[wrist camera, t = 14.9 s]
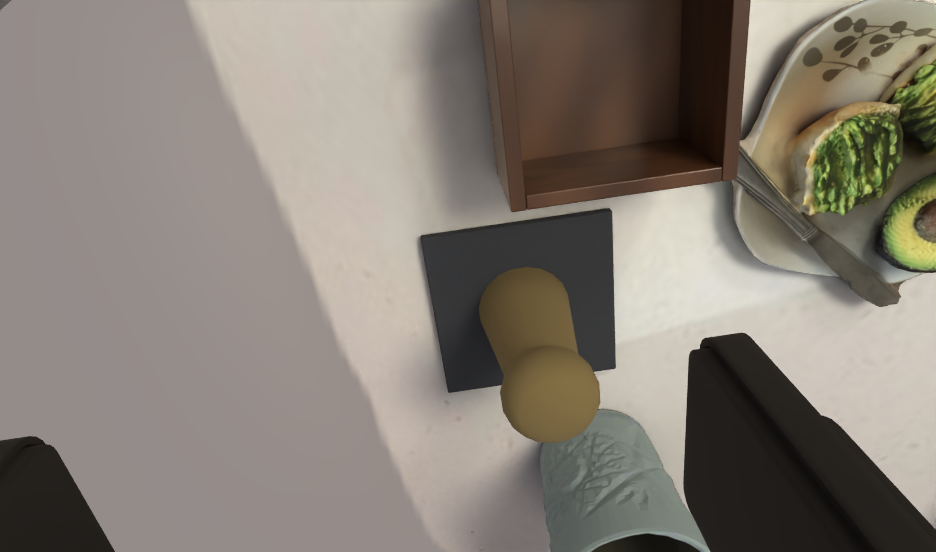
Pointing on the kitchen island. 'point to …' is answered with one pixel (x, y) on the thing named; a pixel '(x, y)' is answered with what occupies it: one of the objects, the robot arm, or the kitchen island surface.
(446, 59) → the kitchen island surface
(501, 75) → the bin
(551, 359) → the cork
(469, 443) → the kitchen island surface
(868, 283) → the avocado toast plate
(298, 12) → the kitchen island surface
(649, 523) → the green cylindrical cup
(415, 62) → the kitchen island surface
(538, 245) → the mat
